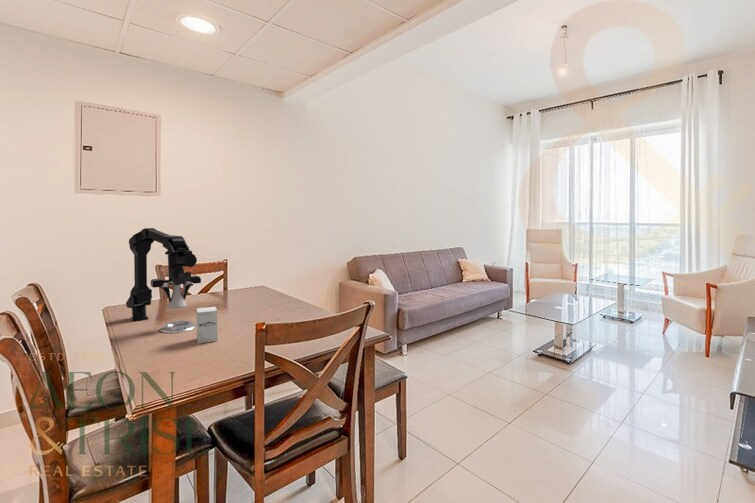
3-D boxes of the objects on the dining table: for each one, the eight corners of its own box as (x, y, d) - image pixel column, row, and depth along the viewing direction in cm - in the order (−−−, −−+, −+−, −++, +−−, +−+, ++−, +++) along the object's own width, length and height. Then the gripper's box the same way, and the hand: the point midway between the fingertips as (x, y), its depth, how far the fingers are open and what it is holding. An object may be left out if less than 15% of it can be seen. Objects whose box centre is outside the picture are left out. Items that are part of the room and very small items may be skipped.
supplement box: (197, 344, 144) (196, 312, 143) (196, 338, 151) (195, 307, 150) (218, 341, 148) (217, 310, 147) (216, 335, 154) (215, 306, 153)
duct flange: (157, 327, 165) (157, 323, 165) (191, 321, 174) (191, 317, 174) (163, 335, 154) (163, 330, 154) (199, 328, 163) (199, 324, 163)
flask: (178, 309, 159) (177, 286, 158) (163, 308, 160) (162, 285, 159) (190, 305, 166) (189, 283, 165) (176, 304, 167) (175, 282, 166)
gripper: (154, 269, 149) (156, 307, 151) (204, 265, 161) (205, 301, 163) (149, 266, 158) (151, 302, 159) (196, 263, 170) (198, 296, 171)
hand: (177, 300), depth 163 cm, fingers closed on flask, 5 cm apart
